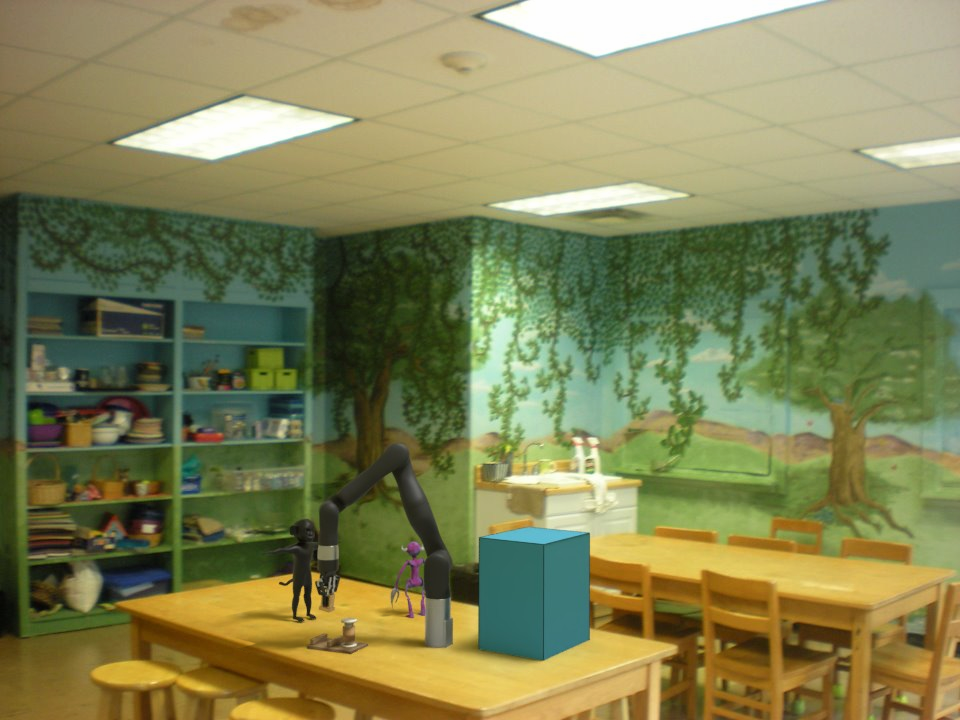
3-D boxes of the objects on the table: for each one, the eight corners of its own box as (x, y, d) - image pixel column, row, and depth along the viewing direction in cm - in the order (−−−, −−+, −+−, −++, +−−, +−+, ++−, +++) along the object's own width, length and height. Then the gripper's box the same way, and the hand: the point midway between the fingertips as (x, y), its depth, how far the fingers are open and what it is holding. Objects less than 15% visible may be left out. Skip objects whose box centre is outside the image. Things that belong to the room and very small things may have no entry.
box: (478, 651, 346) (478, 537, 347) (527, 632, 374) (527, 526, 375) (543, 663, 331) (543, 544, 332) (589, 642, 359) (590, 532, 360)
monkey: (271, 630, 374) (273, 525, 375) (238, 622, 387) (240, 520, 388) (348, 612, 404) (349, 515, 405) (316, 605, 417) (316, 511, 418)
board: (368, 646, 351) (368, 617, 351) (350, 654, 340) (351, 624, 340) (325, 641, 358) (325, 612, 359) (307, 649, 347) (307, 619, 348)
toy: (425, 610, 409) (426, 538, 410) (438, 614, 402) (439, 540, 403) (387, 617, 397) (388, 542, 398) (400, 621, 390) (400, 545, 391)
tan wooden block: (334, 610, 352) (336, 594, 352) (328, 612, 349) (330, 595, 349) (324, 607, 354) (326, 591, 354) (318, 609, 351) (320, 593, 351)
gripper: (326, 561, 344) (325, 610, 344) (347, 555, 357) (346, 603, 356) (308, 559, 347) (307, 608, 347) (329, 553, 360) (329, 601, 359)
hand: (327, 605), depth 352 cm, fingers closed on tan wooden block, 2 cm apart
